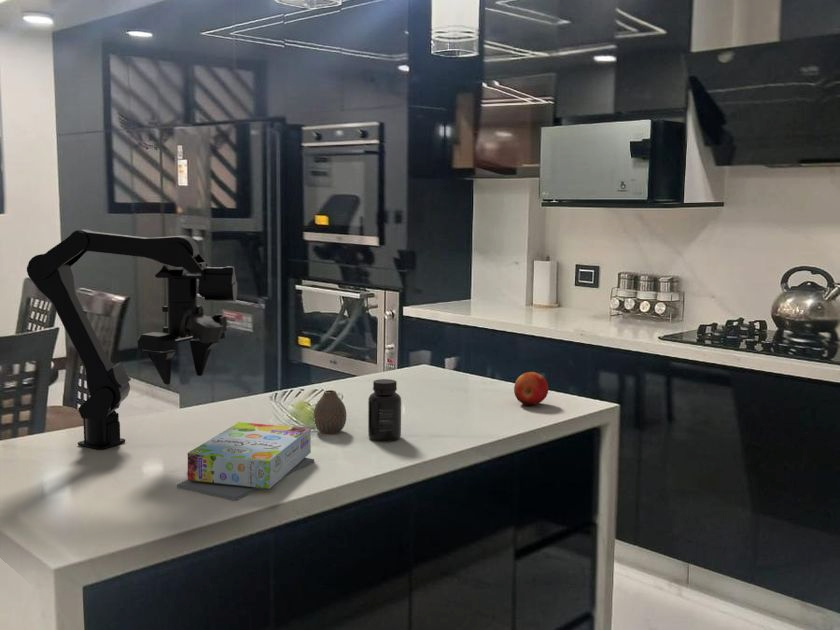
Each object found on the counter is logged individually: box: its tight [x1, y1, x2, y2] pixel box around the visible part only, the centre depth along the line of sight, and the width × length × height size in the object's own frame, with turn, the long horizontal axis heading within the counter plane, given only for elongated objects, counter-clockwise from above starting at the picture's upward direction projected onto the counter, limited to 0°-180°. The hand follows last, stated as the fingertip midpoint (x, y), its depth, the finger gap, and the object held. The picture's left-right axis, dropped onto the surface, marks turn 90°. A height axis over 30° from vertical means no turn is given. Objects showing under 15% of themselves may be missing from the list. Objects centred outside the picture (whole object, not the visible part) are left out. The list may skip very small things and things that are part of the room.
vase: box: [313, 390, 347, 435], centre depth 178 cm, size 7×7×9 cm
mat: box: [176, 457, 315, 501], centre depth 150 cm, size 12×23×1 cm, turn 154°
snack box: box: [187, 421, 312, 490], centre depth 151 cm, size 21×6×15 cm
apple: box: [513, 371, 549, 406], centre depth 205 cm, size 8×8×8 cm
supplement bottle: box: [367, 378, 402, 443], centre depth 174 cm, size 7×7×12 cm
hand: (183, 379), depth 165 cm, fingers open, 9 cm apart
